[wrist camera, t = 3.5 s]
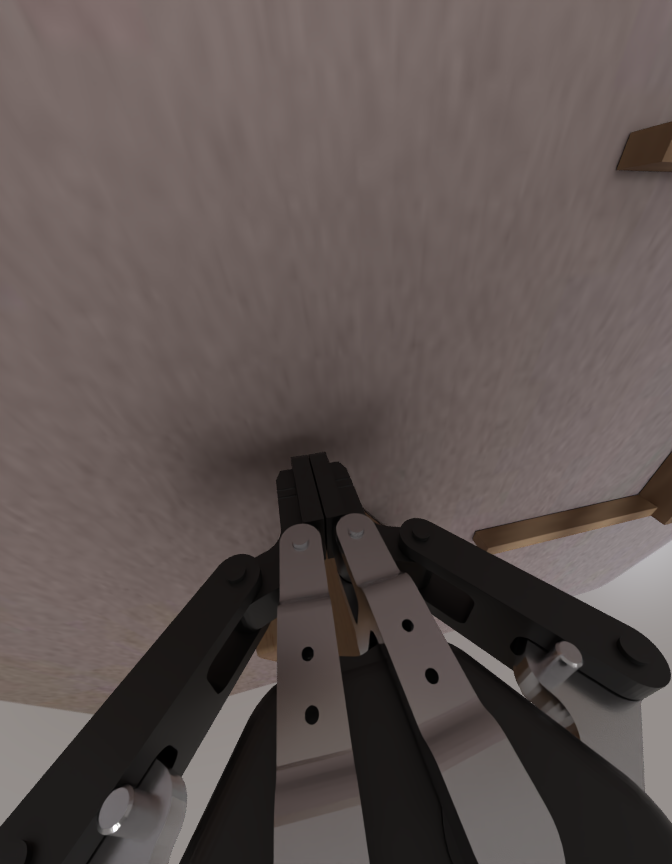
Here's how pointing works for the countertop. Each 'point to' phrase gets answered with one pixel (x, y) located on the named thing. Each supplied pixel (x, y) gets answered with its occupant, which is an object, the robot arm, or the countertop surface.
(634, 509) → the frame
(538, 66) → the countertop surface
